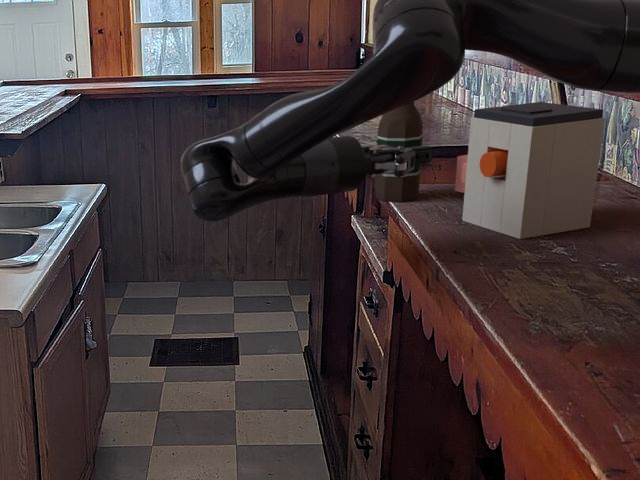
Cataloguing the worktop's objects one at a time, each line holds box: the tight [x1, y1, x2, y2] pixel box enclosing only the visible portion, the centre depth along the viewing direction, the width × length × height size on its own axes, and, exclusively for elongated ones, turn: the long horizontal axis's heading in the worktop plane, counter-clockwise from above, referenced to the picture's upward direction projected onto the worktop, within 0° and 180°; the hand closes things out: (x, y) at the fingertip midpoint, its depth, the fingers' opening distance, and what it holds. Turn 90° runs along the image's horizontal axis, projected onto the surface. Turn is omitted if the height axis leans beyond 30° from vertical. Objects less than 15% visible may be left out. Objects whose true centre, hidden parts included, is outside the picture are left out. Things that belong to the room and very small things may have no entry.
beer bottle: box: [374, 101, 424, 203], centre depth 149 cm, size 8×8×24 cm
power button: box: [480, 150, 508, 177], centre depth 128 cm, size 4×4×4 cm
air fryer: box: [461, 101, 606, 240], centre depth 130 cm, size 13×13×18 cm
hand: (429, 153), depth 123 cm, fingers closed
